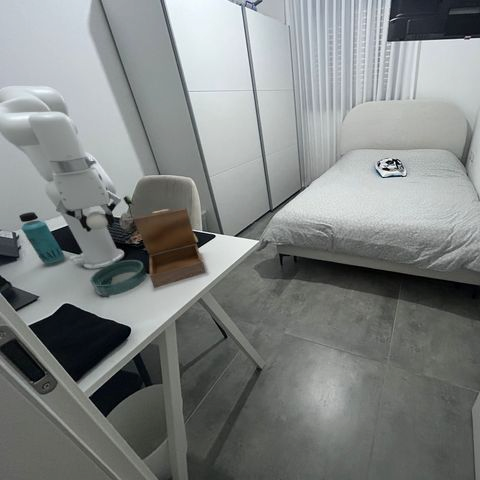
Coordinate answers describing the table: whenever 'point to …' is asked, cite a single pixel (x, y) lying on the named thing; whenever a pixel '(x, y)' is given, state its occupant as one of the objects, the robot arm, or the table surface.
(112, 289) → the bowl
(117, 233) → the table surface
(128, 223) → the plant with pod
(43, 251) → the beverage bottle
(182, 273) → the brown wooden box base
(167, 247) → the egg box lid
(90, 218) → the egg
